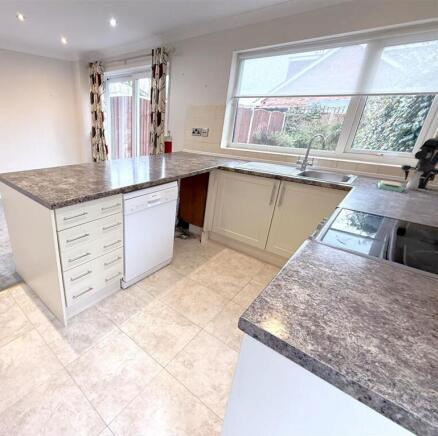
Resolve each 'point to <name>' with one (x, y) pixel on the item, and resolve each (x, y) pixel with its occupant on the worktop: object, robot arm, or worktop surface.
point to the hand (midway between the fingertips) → (414, 181)
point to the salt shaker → (414, 180)
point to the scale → (390, 187)
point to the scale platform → (391, 183)
